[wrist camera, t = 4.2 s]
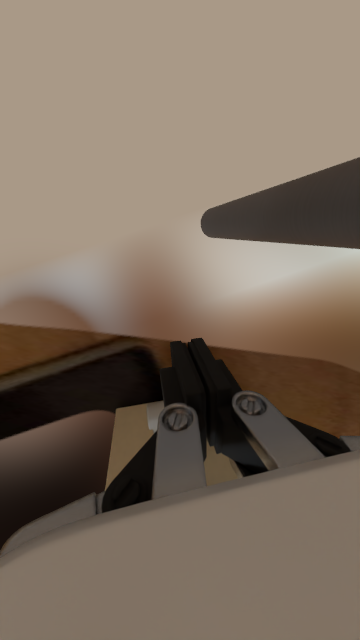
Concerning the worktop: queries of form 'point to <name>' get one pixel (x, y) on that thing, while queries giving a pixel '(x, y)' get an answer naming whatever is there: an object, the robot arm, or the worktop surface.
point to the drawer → (139, 427)
